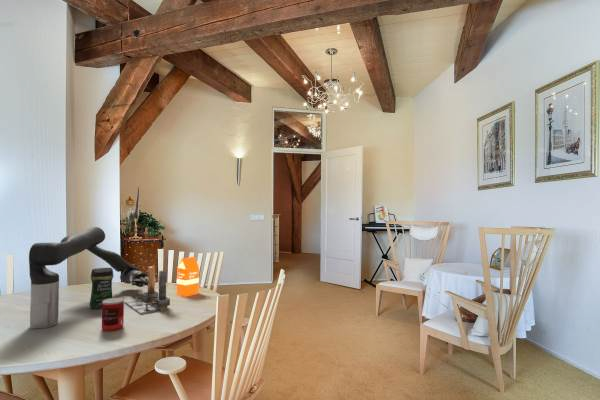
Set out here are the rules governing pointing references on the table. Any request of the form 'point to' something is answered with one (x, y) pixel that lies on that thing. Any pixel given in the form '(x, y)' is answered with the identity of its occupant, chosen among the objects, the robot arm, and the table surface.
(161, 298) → the grey metal fixture
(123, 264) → the robot arm
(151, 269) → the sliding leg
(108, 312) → the canned food
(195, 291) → the orange juice
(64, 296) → the table surface
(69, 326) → the table surface
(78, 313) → the table surface
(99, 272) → the coffee jar
